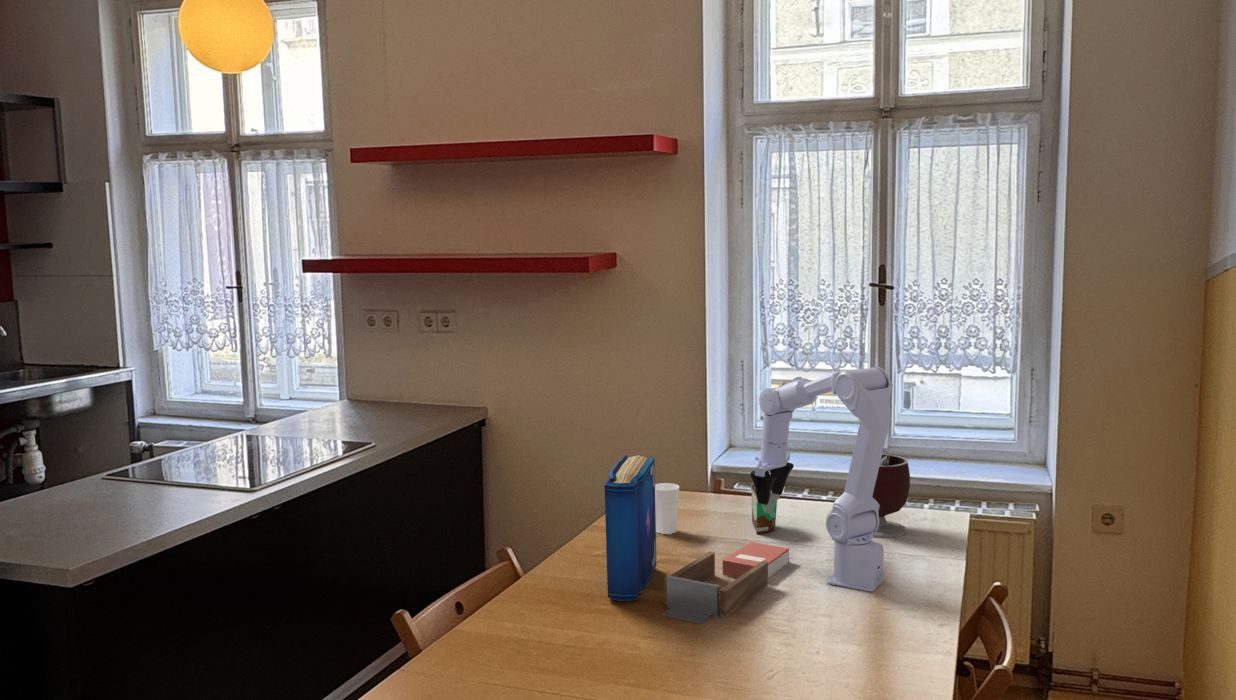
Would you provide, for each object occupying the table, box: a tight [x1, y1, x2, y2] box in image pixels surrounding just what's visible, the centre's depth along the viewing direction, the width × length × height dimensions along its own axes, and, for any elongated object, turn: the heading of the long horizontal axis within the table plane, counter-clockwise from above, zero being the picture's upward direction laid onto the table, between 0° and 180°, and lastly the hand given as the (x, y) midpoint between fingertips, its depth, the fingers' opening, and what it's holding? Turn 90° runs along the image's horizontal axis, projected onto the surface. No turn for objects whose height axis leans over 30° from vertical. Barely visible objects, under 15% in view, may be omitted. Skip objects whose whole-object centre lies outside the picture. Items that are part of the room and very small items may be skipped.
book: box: [604, 454, 657, 602], centre depth 201 cm, size 22×7×25 cm, turn 168°
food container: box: [750, 481, 781, 535], centre depth 238 cm, size 12×6×10 cm, turn 179°
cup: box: [655, 482, 680, 535], centre depth 237 cm, size 7×7×11 cm
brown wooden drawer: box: [663, 551, 769, 618], centre depth 196 cm, size 13×19×5 cm
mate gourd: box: [872, 453, 911, 539], centre depth 234 cm, size 16×14×20 cm
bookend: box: [662, 574, 721, 625], centre depth 186 cm, size 11×5×6 cm, turn 57°
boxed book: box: [722, 541, 790, 579], centre depth 211 cm, size 9×14×4 cm, turn 148°
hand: (769, 498), depth 221 cm, fingers open, 7 cm apart
